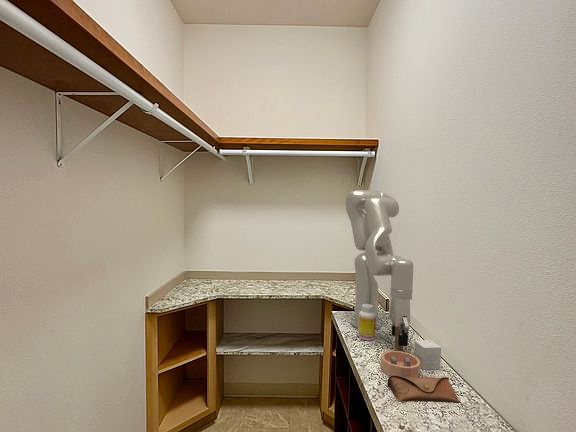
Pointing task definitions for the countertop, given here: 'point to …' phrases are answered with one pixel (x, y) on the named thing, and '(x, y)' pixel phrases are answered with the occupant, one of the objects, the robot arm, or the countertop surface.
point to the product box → (427, 354)
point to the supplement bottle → (367, 323)
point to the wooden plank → (398, 348)
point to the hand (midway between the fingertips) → (399, 340)
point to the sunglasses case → (422, 389)
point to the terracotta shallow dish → (400, 364)
